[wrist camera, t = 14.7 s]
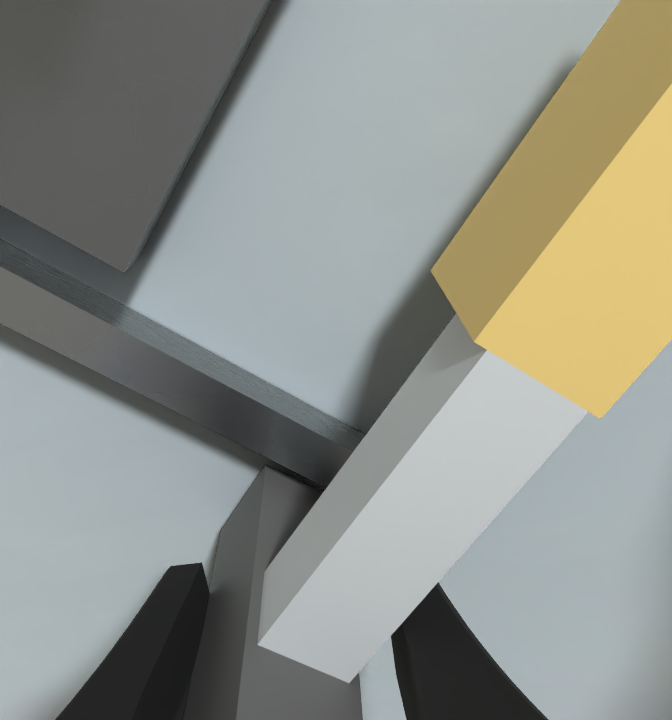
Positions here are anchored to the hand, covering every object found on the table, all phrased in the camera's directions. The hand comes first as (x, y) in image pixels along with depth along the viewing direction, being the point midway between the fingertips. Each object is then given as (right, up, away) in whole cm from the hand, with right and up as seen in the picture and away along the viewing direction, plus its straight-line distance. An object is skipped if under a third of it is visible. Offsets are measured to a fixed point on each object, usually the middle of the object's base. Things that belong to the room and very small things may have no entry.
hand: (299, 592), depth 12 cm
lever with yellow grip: (+3, +6, 0) cm, 6 cm away
